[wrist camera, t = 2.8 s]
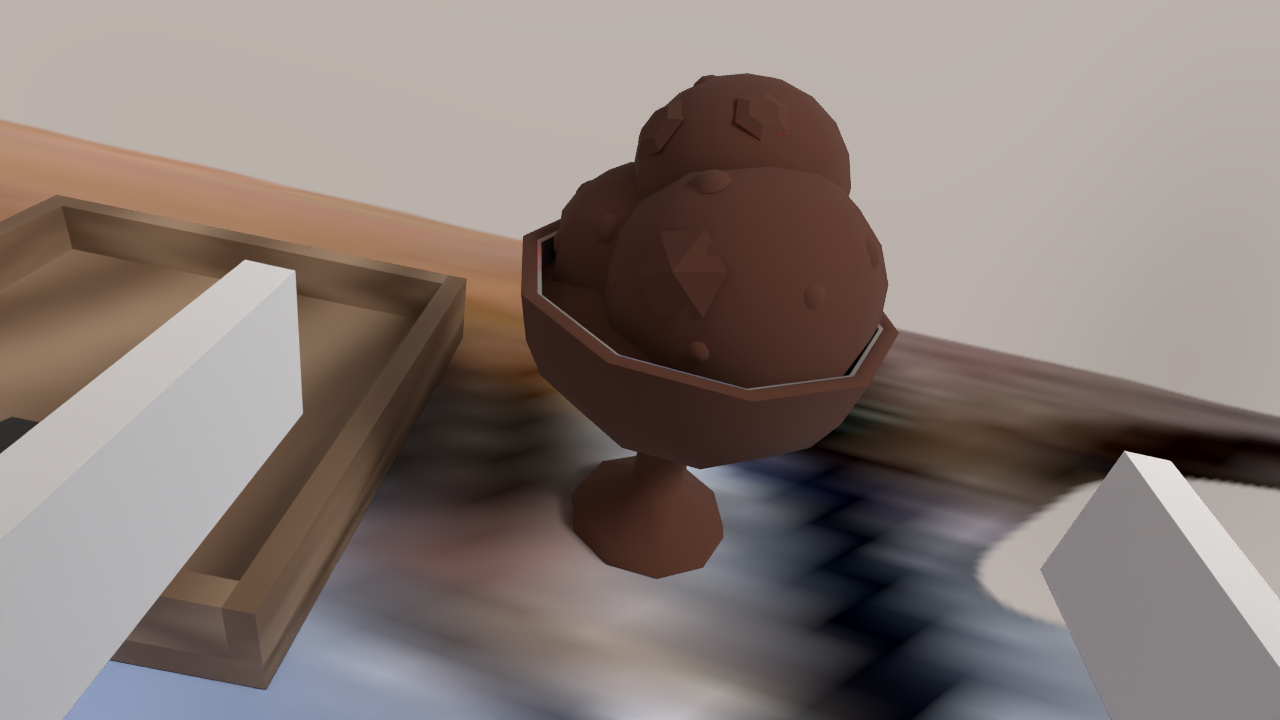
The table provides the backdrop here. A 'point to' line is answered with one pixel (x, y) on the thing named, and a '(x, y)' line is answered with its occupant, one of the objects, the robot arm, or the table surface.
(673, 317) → the ice cream bowl
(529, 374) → the table surface
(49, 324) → the light brown wooden tray
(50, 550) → the robot arm
